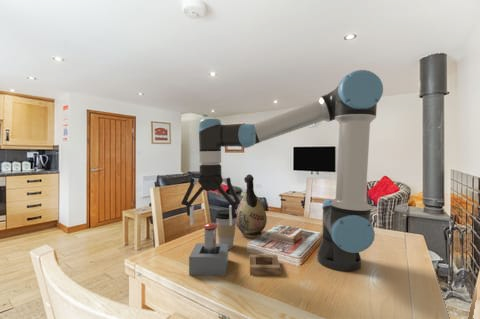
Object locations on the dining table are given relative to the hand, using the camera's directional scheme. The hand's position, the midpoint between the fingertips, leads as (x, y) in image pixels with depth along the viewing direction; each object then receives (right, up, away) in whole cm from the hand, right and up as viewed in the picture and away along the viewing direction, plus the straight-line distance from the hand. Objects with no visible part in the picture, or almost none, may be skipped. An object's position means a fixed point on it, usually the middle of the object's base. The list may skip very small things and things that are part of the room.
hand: (211, 224), depth 86 cm
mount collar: (+18, -15, 0) cm, 24 cm away
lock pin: (-1, -15, +1) cm, 15 cm away
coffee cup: (+4, -15, +19) cm, 25 cm away
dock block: (-1, -15, +1) cm, 15 cm away
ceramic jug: (+15, -14, +34) cm, 40 cm away
